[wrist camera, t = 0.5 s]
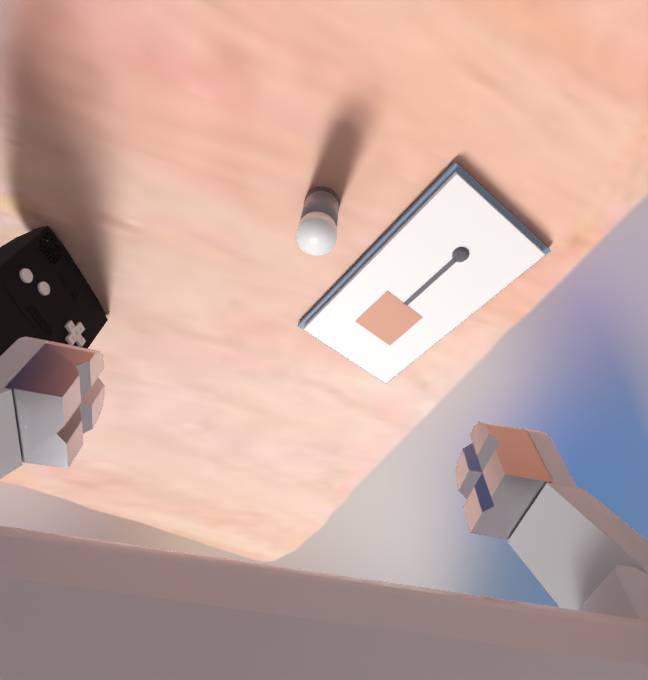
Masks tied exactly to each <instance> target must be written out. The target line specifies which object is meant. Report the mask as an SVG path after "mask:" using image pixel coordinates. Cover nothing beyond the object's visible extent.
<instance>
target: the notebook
mask: <svg viewBox="0 0 648 680" xmlns="http://www.w3.org/2000/svg"><path fill="white" fill-rule="evenodd" d="M549 252H550V249H549V248H548V247H547V246H546V245H545V244H544V243H543V242H542V241H541V240H540V239H539V238H538V237H537V236H535V235H534V234H533V233H532V232H531V231H530V230H529V229H528V228H527V227H526V226H525V225H524V224H522V223H521V222H520V221H519V220H518V219H517V218H516V217H515V216H514V215H513V214H512V213H511V212H510V211H508V210H507V209H506V208H505V207H504V206H503V205H502V204H501V203H500V202H499V201H498V200H497V199H495V198H494V197H493V196H492V195H491V194H490V193H489V192H488V191H487V190H486V189H485V188H484V187H483V186H481V185H480V184H479V183H478V182H477V181H476V180H475V179H474V178H473V177H472V176H471V175H470V174H469V173H467V172H466V171H465V170H464V169H463V168H462V167H461V166H460V165H459V164H458V163H457V162H456V161H454V162H453V163H452V164H451V165H450V166H449V167H448V168H447V170H446V171H445V172H444V173H443V174H442V175H441V176H440V177H439V178H438V179H437V180H436V181H435V182H434V183H433V184H432V185H431V186H430V187H429V188H428V189H427V190H426V191H425V192H424V193H423V194H422V195H421V196H420V198H419V199H418V200H417V201H416V202H415V203H414V204H413V205H412V206H411V207H410V208H409V209H408V210H407V211H406V212H405V213H404V214H403V215H402V216H401V217H400V218H399V219H398V220H397V221H396V222H395V223H394V224H393V226H392V227H391V228H390V229H389V230H388V231H387V232H386V233H385V234H384V235H383V236H382V237H381V238H380V239H379V240H378V241H377V242H376V243H375V244H374V245H373V246H372V247H371V248H370V249H369V250H368V251H367V252H366V253H365V255H364V256H363V257H362V258H361V259H360V260H359V261H358V262H357V263H356V264H355V265H354V266H353V267H352V268H351V269H350V270H349V271H348V272H347V273H346V274H345V275H344V276H343V277H342V278H341V279H340V280H339V281H338V283H337V284H336V285H335V286H334V287H333V288H332V289H331V290H330V291H329V292H328V293H327V294H326V295H325V296H324V297H323V298H322V299H321V300H320V301H319V302H318V303H317V304H316V305H315V306H314V307H313V308H312V309H311V310H310V312H309V313H308V314H307V315H306V316H305V317H304V318H303V319H302V320H301V321H300V322H299V323H298V326H299V327H300V328H302V329H303V330H305V331H306V332H308V333H309V334H311V335H312V336H314V337H315V338H317V339H318V340H320V341H321V342H323V343H324V344H326V345H327V346H329V347H330V348H332V349H334V350H335V351H337V352H338V353H340V354H341V355H343V356H344V357H346V358H347V359H349V360H350V361H352V362H353V363H355V364H356V365H358V366H359V367H361V368H362V369H364V370H365V371H367V372H368V373H370V374H371V375H373V376H374V377H376V378H377V379H379V380H381V381H382V382H384V383H385V384H386V383H387V382H389V381H390V380H391V379H392V378H394V377H395V376H396V375H397V374H398V373H400V372H401V371H402V370H403V369H405V368H406V367H407V366H408V365H410V364H411V363H412V362H413V361H415V360H416V359H417V358H418V357H420V356H421V355H422V354H423V353H425V352H426V351H427V350H428V349H430V348H431V347H432V346H433V345H434V344H436V343H437V342H438V341H439V340H441V339H442V338H443V337H444V336H446V335H447V334H448V333H449V332H451V331H452V330H453V329H454V328H456V327H457V326H458V325H459V324H461V323H462V322H463V321H464V320H466V319H467V318H468V317H469V316H470V315H472V314H473V313H474V312H475V311H477V310H478V309H479V308H480V307H482V306H483V305H484V304H485V303H487V302H488V301H489V300H490V299H492V298H493V297H494V296H495V295H497V294H498V293H499V292H500V291H502V290H503V289H504V288H505V287H506V286H508V285H509V284H510V283H511V282H513V281H514V280H515V279H516V278H518V277H519V276H520V275H521V274H523V273H524V272H525V271H526V270H528V269H529V268H530V267H531V266H533V265H534V264H535V263H536V262H538V261H539V260H540V259H541V258H542V257H544V256H545V255H546V254H547V253H549Z"/></svg>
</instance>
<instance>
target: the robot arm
mask: <svg viewBox="0 0 648 680" xmlns="http://www.w3.org/2000/svg"><path fill="white" fill-rule="evenodd" d="M103 369H104V361H103V354H102V353H101V352H100V351H96V350H91V349H87V348H82V347H77V346H72V345H67V344H62V343H57V342H53V341H51V342H50V341H47V340H42V339H36V338H31V337H22V338H19V339H18V340H17V341H16V342H15V343H14V344H12V345H11V346H10V347H9V348H8V349H7V350H6V351H5V352H4V353H3V354H2V355H1V356H0V479H1V478H2V477H4V476H5V475H7V474H9V473H10V472H12V471H13V470H15V469H17V468H18V467H20V466H21V465H22V462H23V463H31V464H38V465H46V466H53V467H61V468H69V466H70V465H71V463H72V461H73V460H74V458H75V457H76V455H77V453H78V452H79V450H80V448H81V447H82V445H83V433H85V432H87V431H89V430H91V429H93V427H94V425H95V424H96V422H97V420H98V418H99V415H100V412H101V409H102V406H103V401H104V384H103V383H102V382H101V380H100V379H99V378H98V376H99V375H100V373H101V372H102V370H103ZM470 436H471V439H472V442H473V443H472V444H470V445H469V446H467V447H465V448H463V449H462V451H461V454H460V456H459V458H458V461H457V467H456V482H457V486H458V490H459V491H460V492H461V493H462V494H463V495H464V497H465V498H466V499H467V501H466V503H465V505H464V506H463V508H464V512H465V515H466V519H467V522H468V526H469V530H470V533H475V534H479V535H485V536H490V537H496V538H500V539H506V540H508V543H509V544H510V545H511V547H512V548H513V549H514V550H515V552H516V553H517V554H518V555H519V557H520V558H521V559H522V560H523V562H524V563H525V564H526V566H527V567H528V568H529V569H530V571H531V572H532V573H533V574H534V575H535V577H536V578H537V579H538V581H539V582H540V583H541V584H542V586H543V587H544V588H545V589H546V591H547V592H548V593H549V594H550V596H551V597H552V598H553V599H554V601H555V602H556V603H557V604H558V606H559V607H553V606H546V605H538V604H532V603H525V602H518V601H511V600H505V599H498V598H491V597H484V596H477V595H470V594H464V593H457V592H450V591H444V590H436V589H430V588H423V587H416V586H410V585H403V584H396V583H389V582H382V581H376V580H369V579H362V578H355V577H349V576H341V575H335V574H328V573H321V572H314V571H308V570H301V569H294V568H287V567H280V566H274V565H267V564H260V563H252V562H246V561H239V560H233V559H226V558H219V557H212V556H205V555H198V554H191V553H184V552H178V551H171V550H164V549H156V548H150V547H143V546H137V545H130V544H123V543H116V542H109V541H103V540H96V539H89V538H82V537H75V536H69V535H62V534H54V533H47V532H41V531H35V530H27V529H21V528H13V527H7V526H0V680H648V541H647V540H646V539H645V538H643V537H642V536H641V535H640V534H639V533H637V532H636V531H635V530H634V529H632V528H631V527H630V526H629V525H627V524H626V523H625V522H624V521H623V520H621V519H620V518H619V517H618V516H617V515H615V514H614V513H613V512H612V511H610V510H609V509H608V508H607V507H605V506H604V505H603V504H602V503H601V502H599V501H598V500H597V499H596V498H594V497H593V496H592V495H591V494H590V493H588V492H587V491H586V490H585V489H582V488H577V487H576V485H575V483H574V481H573V479H572V477H571V475H570V473H569V472H568V470H567V468H566V466H565V464H564V462H563V460H562V459H561V457H560V455H559V453H558V451H557V449H556V448H555V446H554V444H553V442H552V440H551V438H550V437H549V435H548V434H546V433H545V432H542V431H535V430H529V429H519V428H513V427H508V426H502V425H496V424H491V423H485V422H478V424H476V425H475V426H474V428H473V430H472V432H471V433H470Z"/></svg>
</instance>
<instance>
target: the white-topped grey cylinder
mask: <svg viewBox="0 0 648 680" xmlns="http://www.w3.org/2000/svg"><path fill="white" fill-rule="evenodd" d="M338 211H339V199H338V197H337V195H336V194H335V192H333V191H332V190H331V189H329V188H326V187H317V188H314V189H312V190H311V191H310V192H309V193H308V194H307V196H306V198H305V202H304V207H303V211H302V215H301V219H300V222H299V225H298V229H297V234H296V239H297V243H298V245H299V247H300V248H301V249H302V250H303V251H304V252H306V253H308V254H310V255H316V256H319V255H324V254H326V253H328V252H329V251H331V250H332V248H333V247H334V245H335V243H336V235H337V219H338Z"/></svg>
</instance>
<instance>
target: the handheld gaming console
mask: <svg viewBox="0 0 648 680" xmlns="http://www.w3.org/2000/svg"><path fill="white" fill-rule="evenodd" d="M107 320H108V319H107V317H106V315H105V313H104V311H103V310H102V308H101V306H100V304H99V302H98V300H97V298H96V296H95V294H94V293H93V291H92V290H91V288H90V286H89V285H88V283H87V282H86V280H85V279H84V277H83V275H82V274H81V272H80V271H79V269H78V267H77V266H76V264H75V263H74V261H73V260H72V258H71V256H70V255H69V253H68V252H67V250H66V248H65V247H64V246H63V245H62V243H61V242H60V241H59V240H58V238H57V237H56V236H55V235H54V233H53V232H52V231H51V229H50V228H49V227H48V226H46V227H42V228H38V229H34V230H32V231H31V232H28V233H26V234H24V235H21V236H19V237H17V238H15V239H13V240H12V241H10V242H8V243H7V244H5V245H3V246H2V247H0V356H1V355H2V354H3V353H4V352H5V351H6V350H7V349H8V348H9V347H10V346H11V345H12V344H14V343H15V342H16V341H17V340H18V339H19V338H22V337H31V338H36V339H42V340H47V341H50V342H51V341H53V342H57V343H62V344H67V345H72V346H77V347H82V348H87V349H88V347H89V346H90V344H91V343H92V341H93V340H94V339H95V337H96V336H97V334H98V333H99V331H100V330H101V329H102V327H103V326H104V324H105V323H106V321H107Z"/></svg>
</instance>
